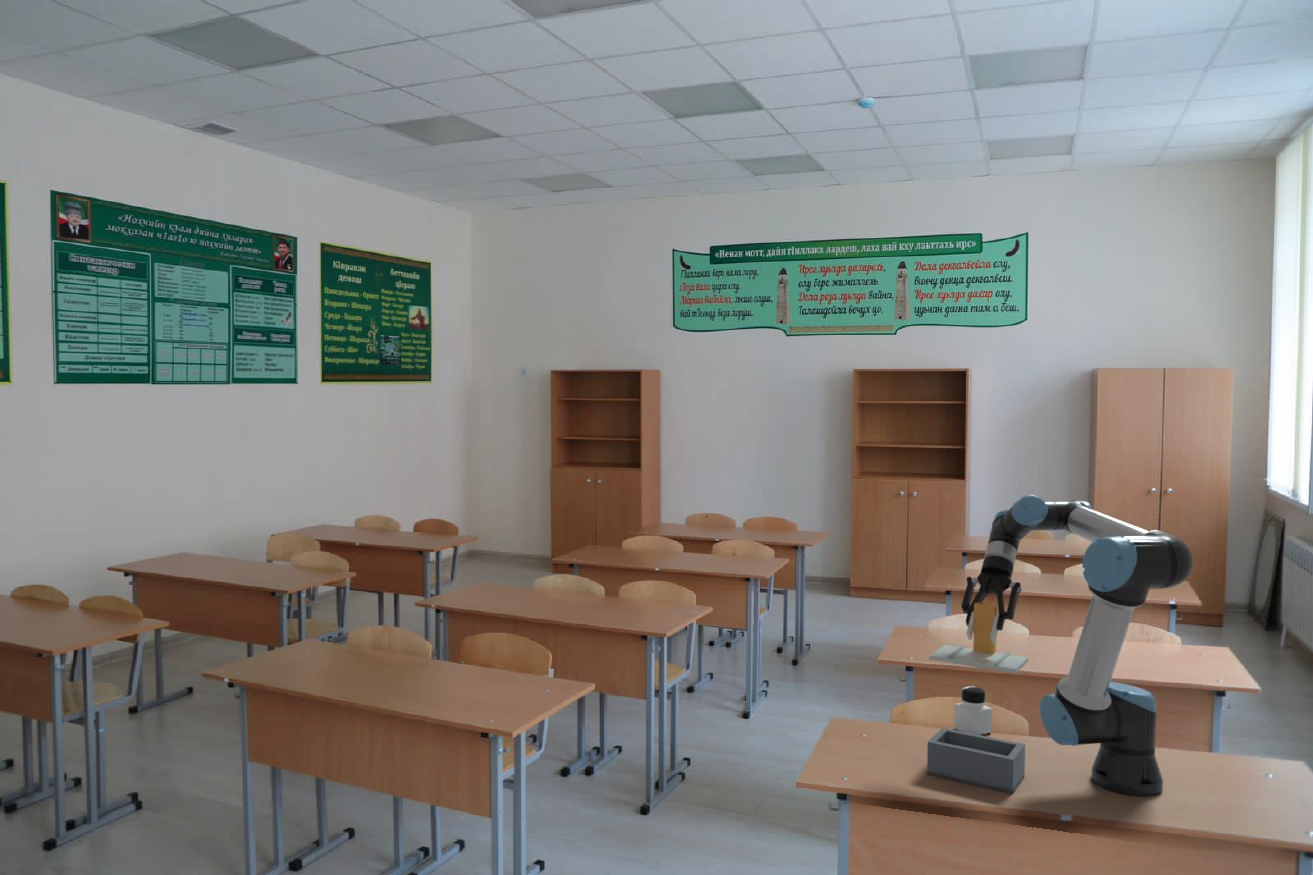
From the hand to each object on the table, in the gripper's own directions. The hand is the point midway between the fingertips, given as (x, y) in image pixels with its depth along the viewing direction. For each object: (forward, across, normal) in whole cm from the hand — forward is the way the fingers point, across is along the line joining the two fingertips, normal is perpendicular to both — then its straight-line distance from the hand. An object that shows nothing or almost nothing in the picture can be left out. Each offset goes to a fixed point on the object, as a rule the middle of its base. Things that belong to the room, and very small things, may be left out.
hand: (980, 638), depth 226 cm
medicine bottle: (+5, +8, -41) cm, 42 cm away
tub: (+27, -1, -19) cm, 33 cm away
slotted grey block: (+5, 0, -3) cm, 5 cm away
